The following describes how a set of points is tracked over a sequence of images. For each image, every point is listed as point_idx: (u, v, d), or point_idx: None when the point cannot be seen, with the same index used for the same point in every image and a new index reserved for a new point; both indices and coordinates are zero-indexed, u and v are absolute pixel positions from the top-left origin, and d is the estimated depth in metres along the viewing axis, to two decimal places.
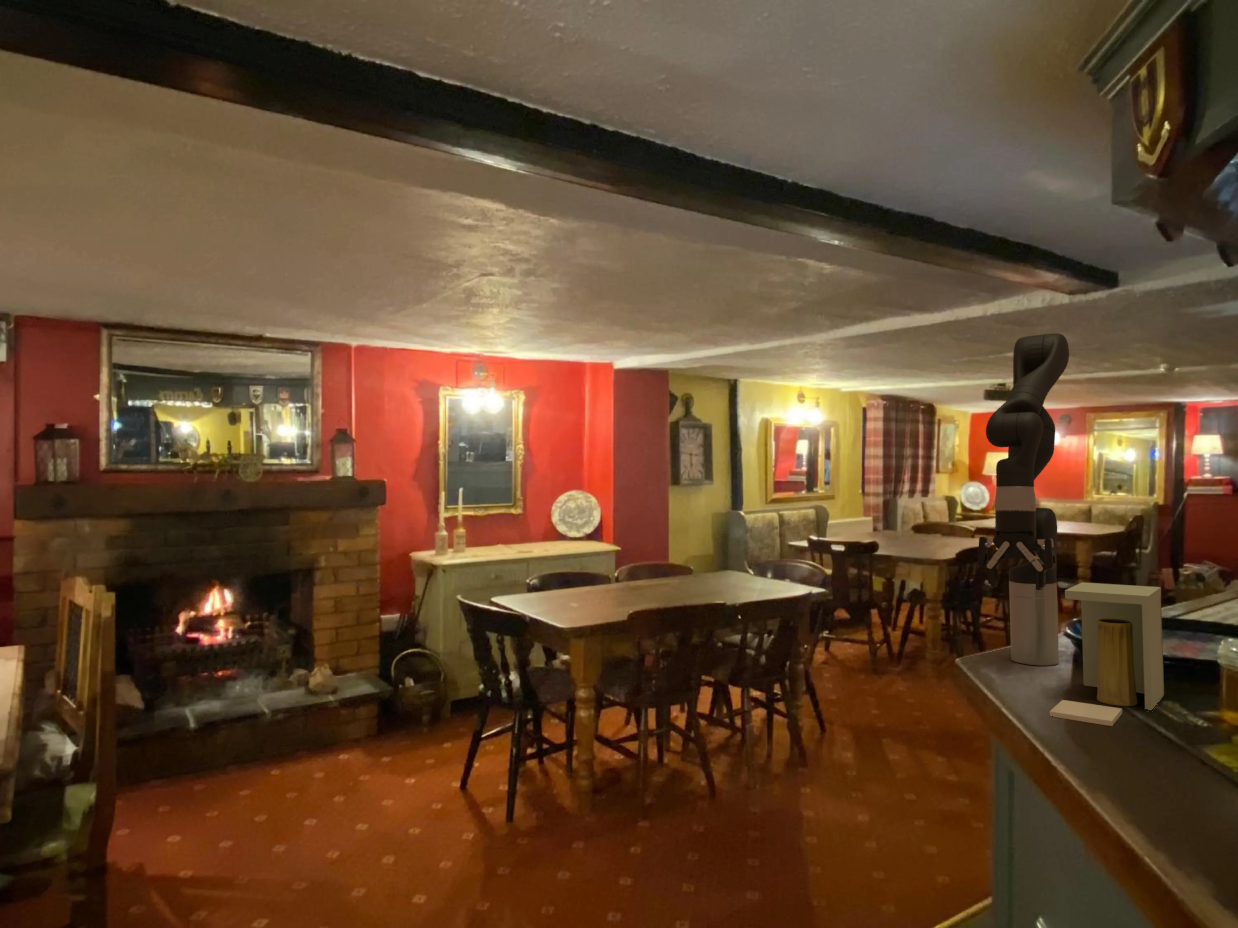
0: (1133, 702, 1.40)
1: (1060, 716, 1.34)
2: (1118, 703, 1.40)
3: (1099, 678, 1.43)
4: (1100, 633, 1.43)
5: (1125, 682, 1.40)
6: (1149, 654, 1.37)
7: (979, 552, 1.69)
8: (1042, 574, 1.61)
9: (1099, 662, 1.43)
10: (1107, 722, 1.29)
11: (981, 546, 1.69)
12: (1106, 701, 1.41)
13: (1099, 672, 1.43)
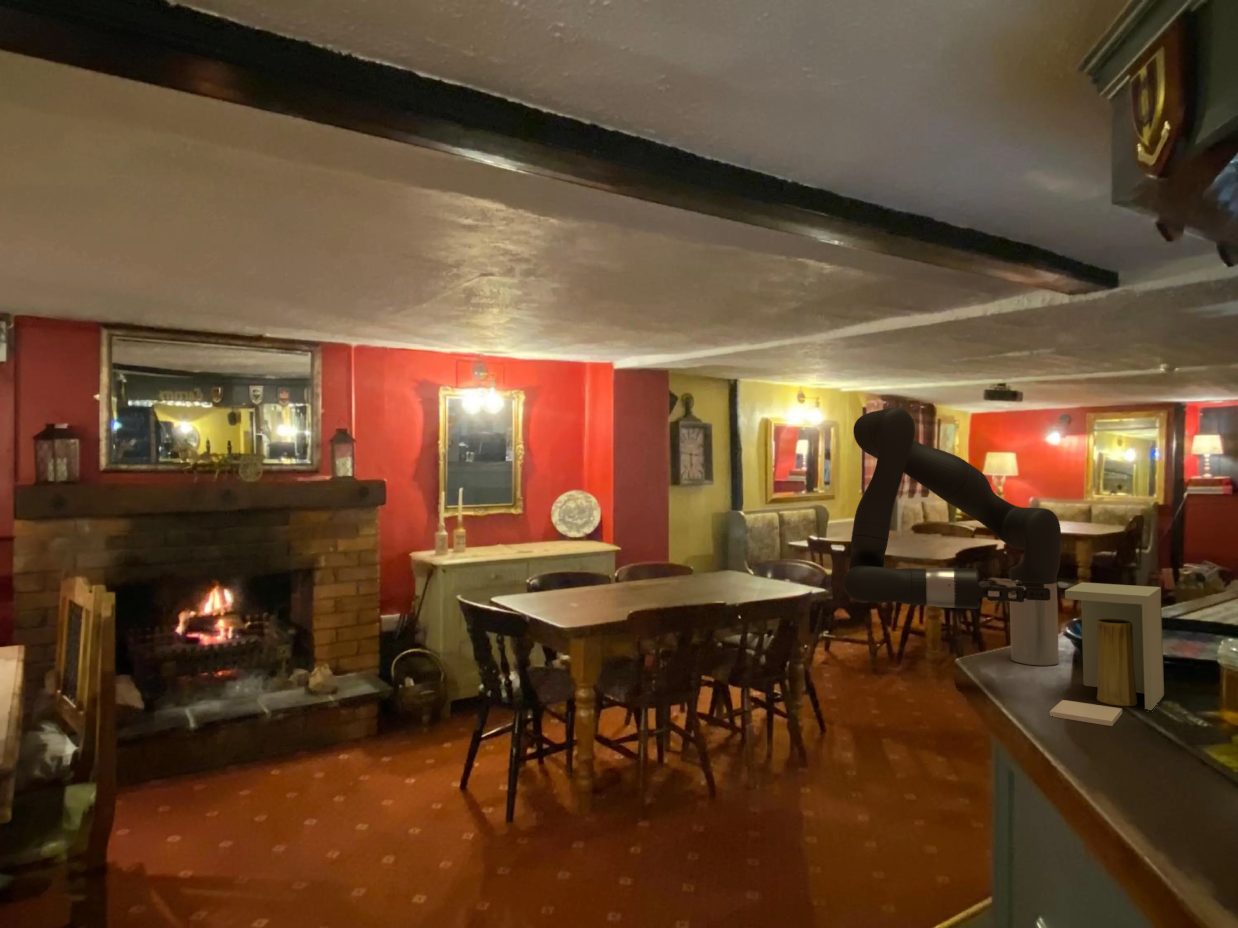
0: (1133, 702, 1.40)
1: (1060, 716, 1.34)
2: (1118, 703, 1.40)
3: (1099, 678, 1.43)
4: (1100, 633, 1.43)
5: (1125, 682, 1.40)
6: (1149, 654, 1.37)
7: None
8: (1031, 597, 1.45)
9: (1099, 662, 1.43)
10: (1107, 722, 1.29)
11: None
12: (1106, 701, 1.41)
13: (1099, 672, 1.43)
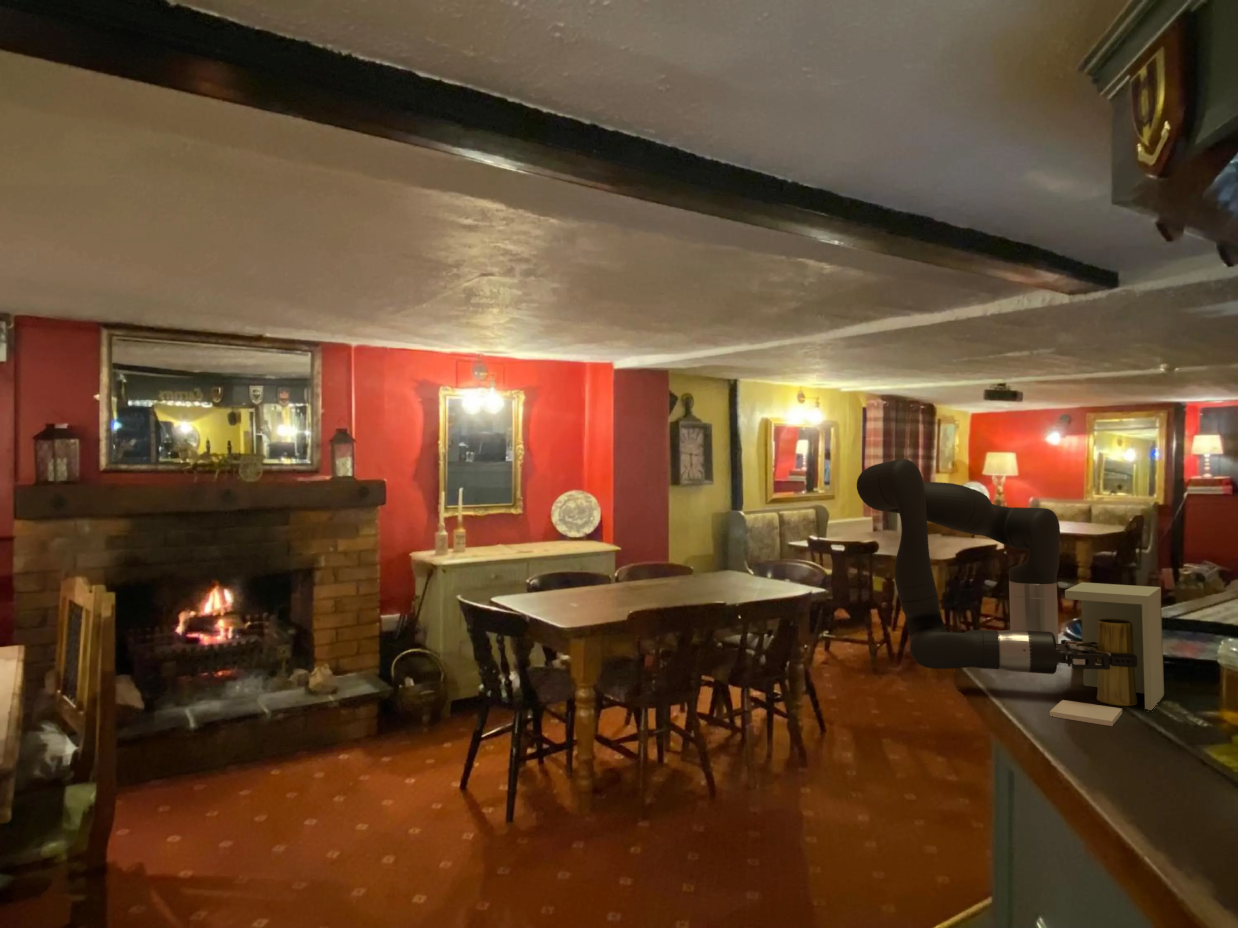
0: (1133, 702, 1.40)
1: (1060, 716, 1.34)
2: (1117, 702, 1.40)
3: (1099, 678, 1.43)
4: (1100, 633, 1.43)
5: (1125, 682, 1.40)
6: (1149, 654, 1.37)
7: None
8: None
9: None
10: (1107, 722, 1.29)
11: None
12: (1106, 701, 1.41)
13: (1099, 672, 1.43)
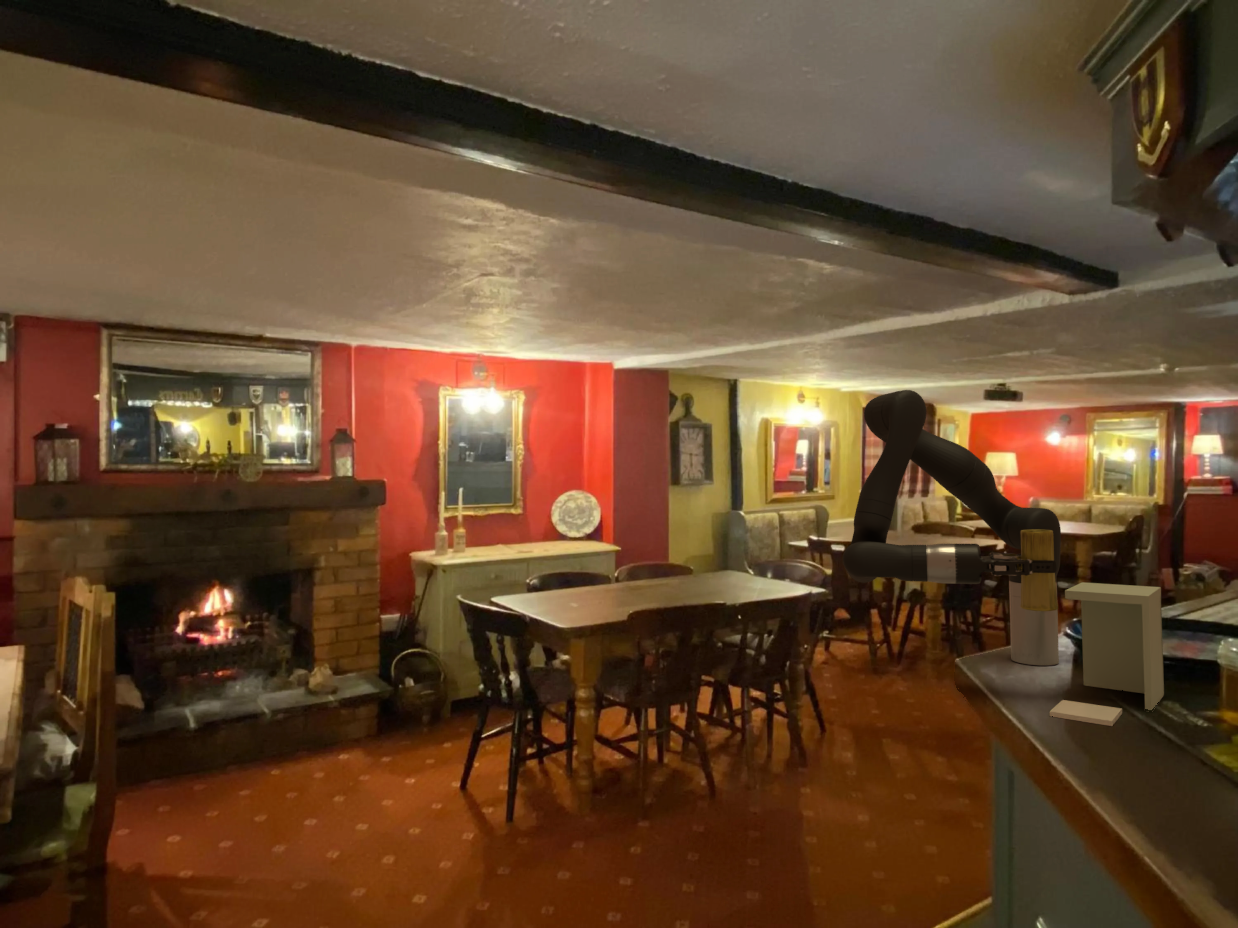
0: (1053, 607, 1.45)
1: (1060, 716, 1.34)
2: (1038, 608, 1.45)
3: (1022, 586, 1.48)
4: (1023, 542, 1.48)
5: (1045, 588, 1.45)
6: (1149, 654, 1.37)
7: None
8: (1036, 570, 1.44)
9: None
10: (1107, 722, 1.29)
11: None
12: (1028, 607, 1.46)
13: (1022, 580, 1.48)
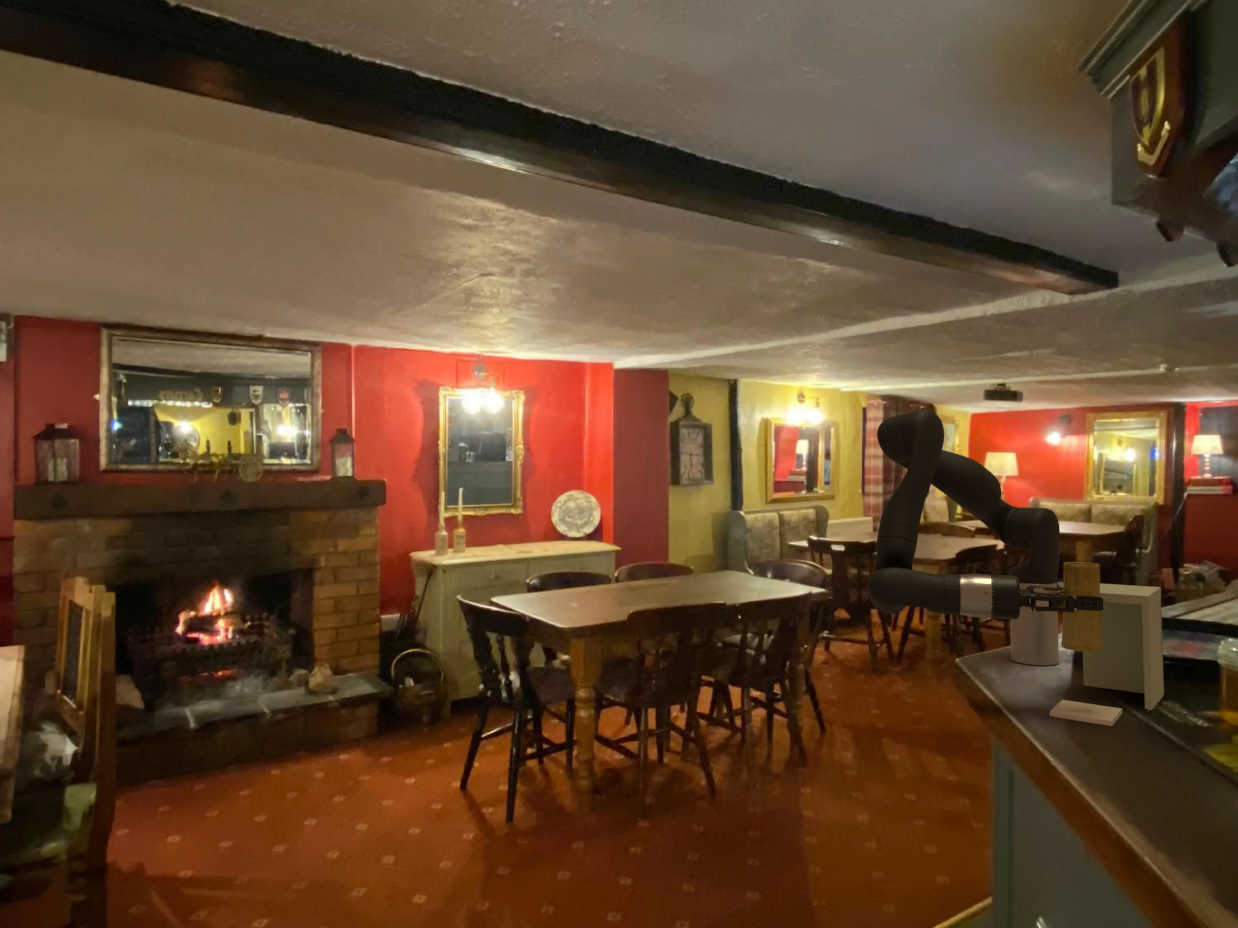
0: (1098, 648, 1.33)
1: (1060, 716, 1.34)
2: (1082, 648, 1.33)
3: (1064, 623, 1.36)
4: (1066, 576, 1.36)
5: (1090, 627, 1.33)
6: (1149, 654, 1.37)
7: None
8: (1081, 607, 1.32)
9: None
10: (1107, 722, 1.29)
11: None
12: (1070, 647, 1.34)
13: (1064, 617, 1.36)
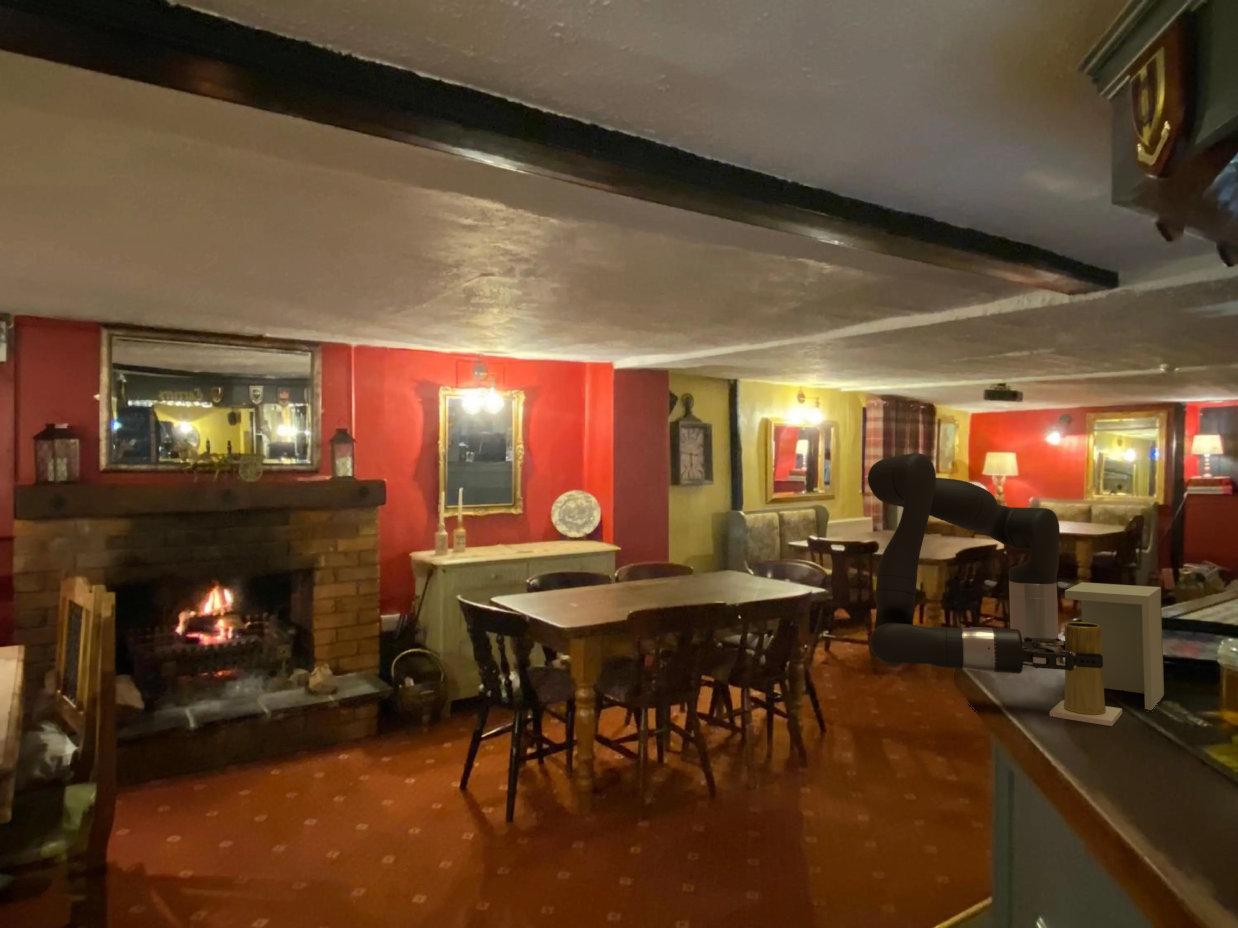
0: (1101, 710, 1.33)
1: (1060, 716, 1.34)
2: (1085, 711, 1.33)
3: (1066, 685, 1.36)
4: (1067, 637, 1.36)
5: (1092, 689, 1.33)
6: (1149, 654, 1.37)
7: None
8: (1081, 664, 1.31)
9: None
10: (1107, 722, 1.29)
11: None
12: (1073, 709, 1.34)
13: (1066, 678, 1.36)
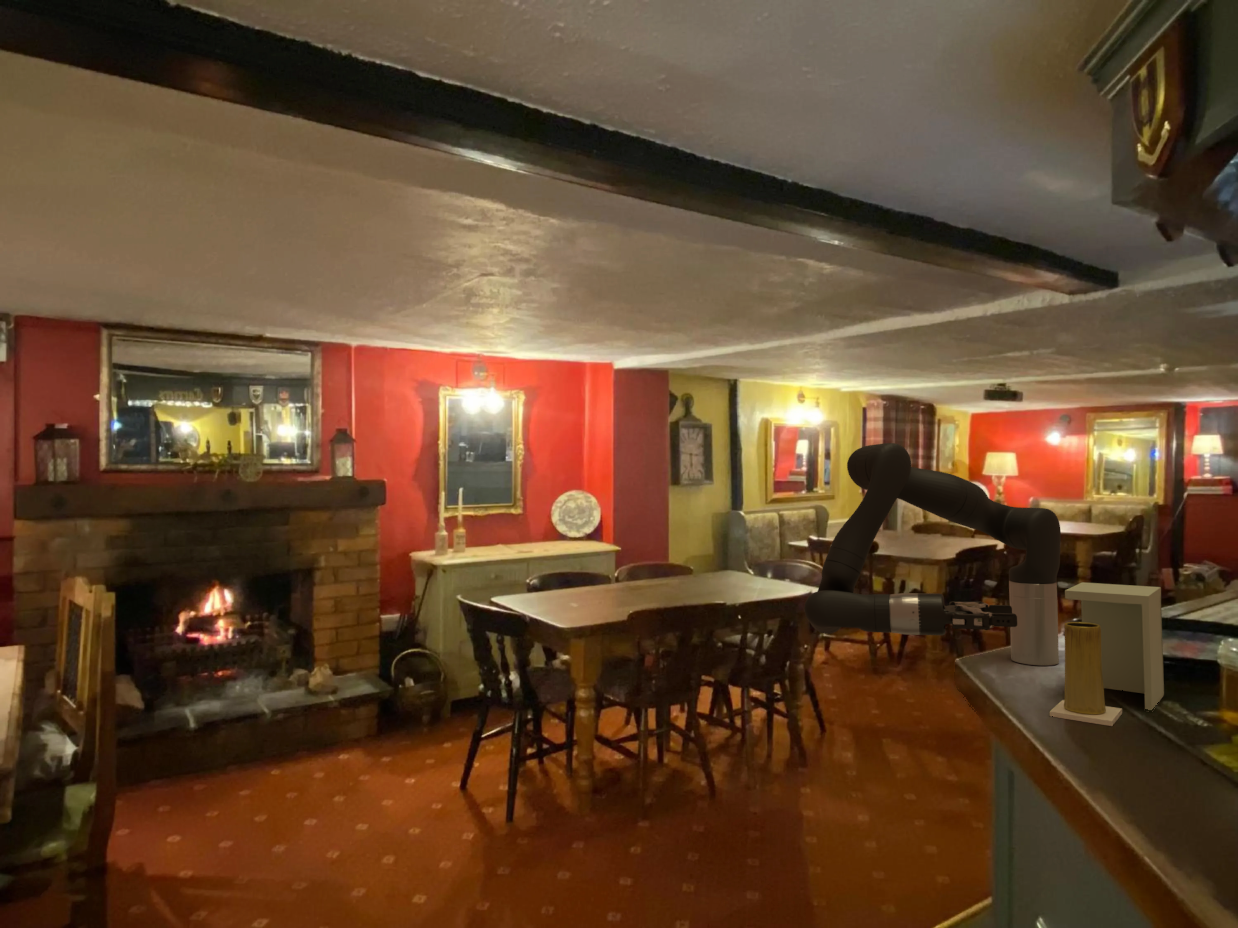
0: (1101, 710, 1.33)
1: (1060, 716, 1.34)
2: (1085, 711, 1.33)
3: (1066, 685, 1.36)
4: (1067, 637, 1.36)
5: (1092, 689, 1.33)
6: (1149, 654, 1.37)
7: None
8: (997, 624, 1.39)
9: (1066, 668, 1.36)
10: (1107, 722, 1.29)
11: None
12: (1073, 709, 1.34)
13: (1066, 678, 1.36)
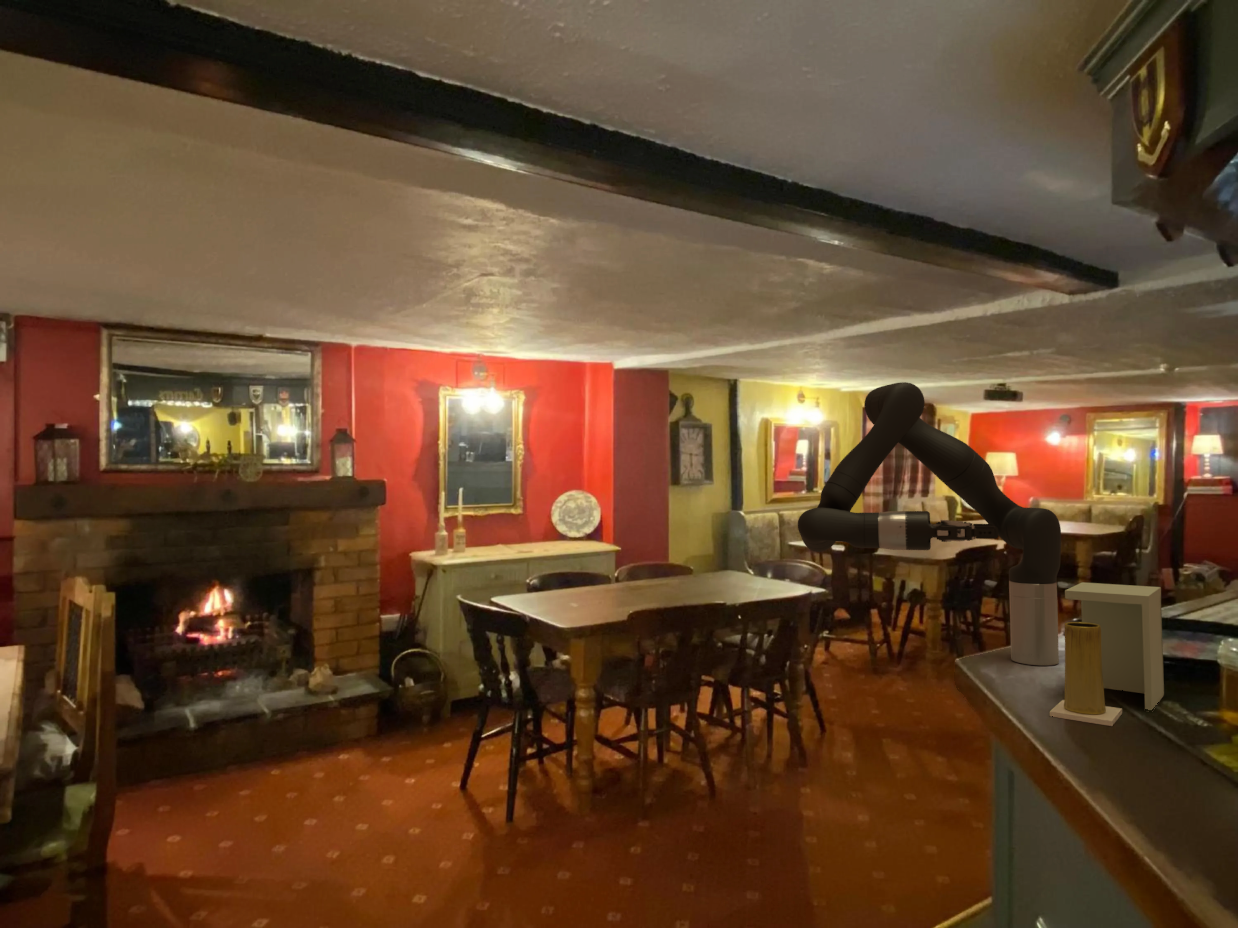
0: (1101, 710, 1.33)
1: (1060, 716, 1.34)
2: (1085, 711, 1.33)
3: (1066, 685, 1.36)
4: (1067, 637, 1.36)
5: (1092, 689, 1.33)
6: (1149, 654, 1.37)
7: None
8: None
9: (1066, 668, 1.36)
10: (1107, 722, 1.29)
11: None
12: (1073, 709, 1.34)
13: (1066, 678, 1.36)
